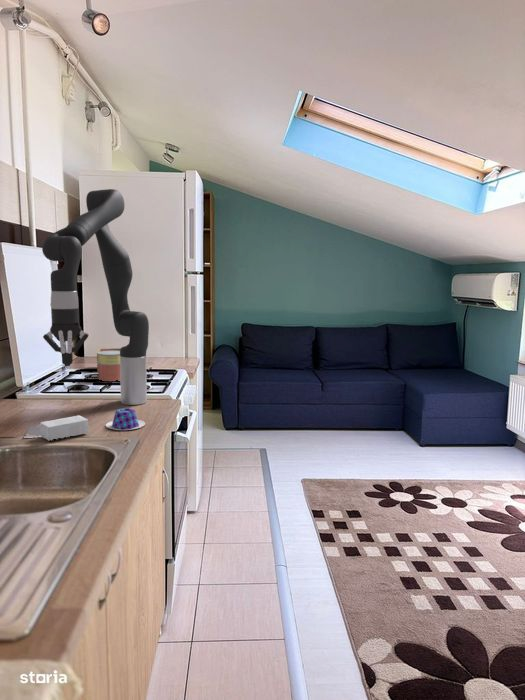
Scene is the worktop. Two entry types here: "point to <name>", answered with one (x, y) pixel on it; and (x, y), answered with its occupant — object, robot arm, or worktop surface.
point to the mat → (34, 431)
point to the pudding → (125, 420)
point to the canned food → (109, 365)
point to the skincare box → (64, 427)
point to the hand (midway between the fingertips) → (67, 365)
